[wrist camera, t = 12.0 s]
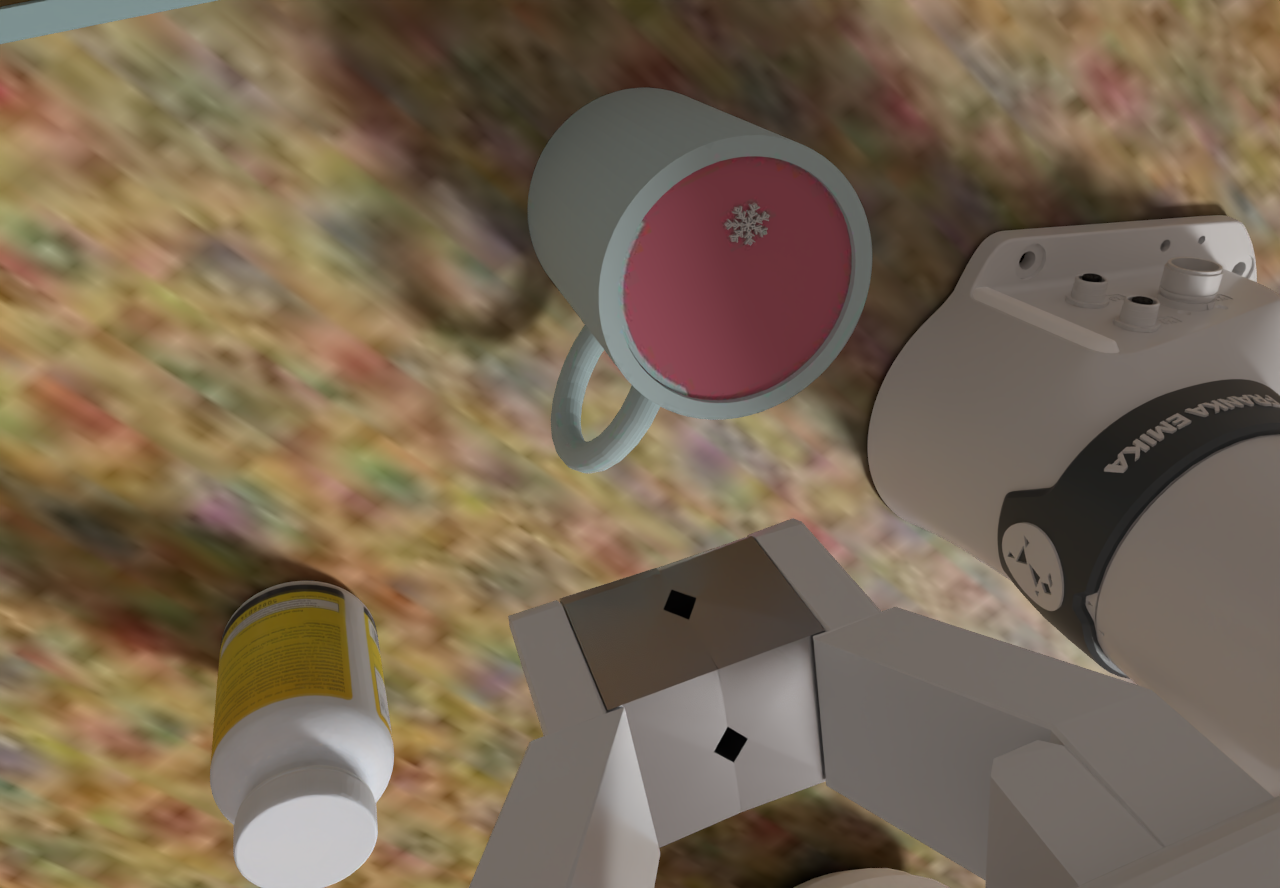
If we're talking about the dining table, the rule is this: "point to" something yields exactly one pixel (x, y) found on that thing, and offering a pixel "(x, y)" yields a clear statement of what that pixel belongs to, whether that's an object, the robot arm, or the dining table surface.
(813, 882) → the bowl
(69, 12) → the tray
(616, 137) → the mug
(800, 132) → the dining table surface
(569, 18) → the dining table surface
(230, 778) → the pill bottle
